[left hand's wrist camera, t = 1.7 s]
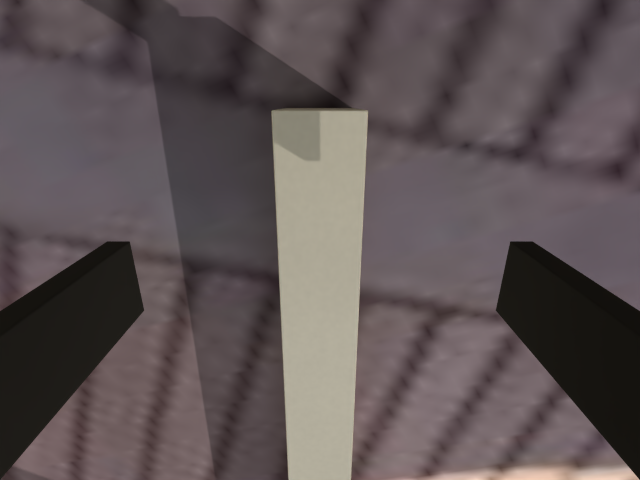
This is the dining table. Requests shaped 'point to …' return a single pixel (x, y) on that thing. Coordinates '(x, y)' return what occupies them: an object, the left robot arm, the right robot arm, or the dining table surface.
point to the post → (319, 280)
